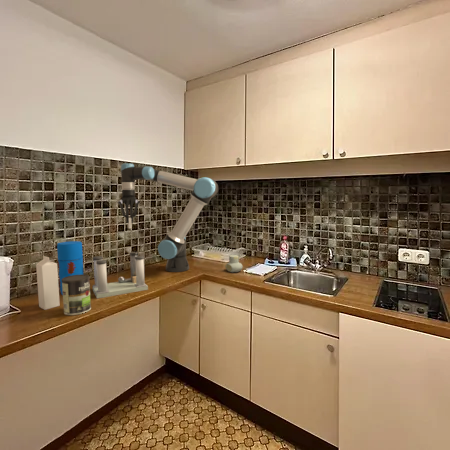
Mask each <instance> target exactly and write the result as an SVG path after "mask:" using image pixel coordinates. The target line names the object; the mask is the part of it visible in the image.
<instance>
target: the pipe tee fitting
mask: <svg viewBox="0 0 450 450" xmlns="http://www.w3.org/2000/svg"><path fill="white" fill-rule="evenodd" d="M239 257H240V256H239V255H236V254H231V255H229V257H228V258H229V261H228V262H227V263H225V269H226V271H228V272H230V273H238V272H240V271H242V270H243V264H242V262H239Z"/></svg>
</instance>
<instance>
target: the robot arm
mask: <svg viewBox="0 0 450 450" xmlns="http://www.w3.org/2000/svg"><path fill="white" fill-rule="evenodd" d="M120 174H121V175H120V176H121V189H122V190H121V199H120V200H119V201H117V204H118V205H119V208H120V211H121V214H122V217H123V218H125V223H126V224H127V229H132V227H133V225H132V223H134V218H135V217H137V213H138V208H139V205H140V203H141V201H140V200H138V199H137V198H136V191H135V189H136V186H135V185H136V184H135V180H136V181H138V180H145V181H150V182H156V183H159V184H160V183H161V184H162V185H163V184H164V185H168V186H173V187H177V188H179V189H185V190H188V191H191V192H190V200H189V201H188V203H187V204H186V206H185V208H184V210H183V211H182V214H181V215H179V218H178V220H177V222H176V223H175V225H174V227H173V228H172V230H171V231H170V232H167V234H166V235H165V236H164V238H163V240H161V241H160V242H159V244H158V245H157V251H158V255H160V256H161V258H163V259H165V260H167V261H166V265H165V271H166V272H171V273H179V272H180V273H182V272H185V271H189V270H190V264H189V262H188V258H187V242H186V241H187V237H186V236H187V234H188V233H189V231H190V229H191V228H192V226H193V224H194V223H195V221H196V220H197V218H198V216H199V214H200V213H201V211H202V209H203V208H204V206H206V205H209V203H210V201H211V199H212V198H213V197H215V196H216V195H218V192H219V185H218V183H217V182H216V180H214V179H213V178H210V177H208V176H207V177H206V176H205V177H201V178H200V177H199V178H193V177H188V176H185V175H181V174H175V173H171V172H167V171H163V170H158V169H156V168H155V169H154V168H153V167H152V166H146V165H145V166H135V165H134V164H133V163H127V162H126V163H121V165H120ZM123 204H124V205H125V209H124V206H123ZM134 204H135V205H134ZM133 208H134V209H133Z"/></svg>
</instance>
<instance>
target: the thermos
mask: <svg viewBox="0 0 450 450" xmlns="http://www.w3.org/2000/svg"><path fill="white" fill-rule="evenodd" d="M56 251H57V270H58V285H59V294H60V295H61V296H63V288H62V279H63V278H64V277H68V276H72V275H85V272H84V257H83V256H84V255H83V243H82V241H78V240H77V241H76V240H72V241H63V242H58V243H57V246H56Z"/></svg>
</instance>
